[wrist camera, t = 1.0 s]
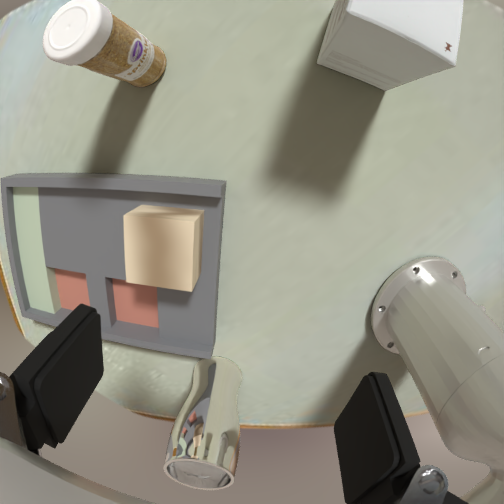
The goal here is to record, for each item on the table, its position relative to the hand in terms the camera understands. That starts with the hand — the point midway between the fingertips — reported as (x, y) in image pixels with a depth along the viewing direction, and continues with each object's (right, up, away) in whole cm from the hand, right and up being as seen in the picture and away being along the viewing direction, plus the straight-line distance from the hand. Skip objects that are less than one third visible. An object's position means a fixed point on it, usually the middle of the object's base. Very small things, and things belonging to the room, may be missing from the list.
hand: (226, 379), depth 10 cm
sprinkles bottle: (-9, +22, +15) cm, 28 cm away
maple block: (-7, +5, +18) cm, 20 cm away
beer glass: (-3, -11, +27) cm, 29 cm away
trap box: (-15, +4, +22) cm, 27 cm away
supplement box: (+11, +24, +13) cm, 29 cm away
